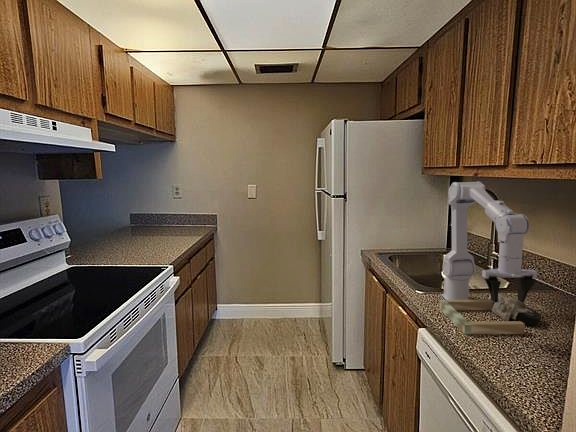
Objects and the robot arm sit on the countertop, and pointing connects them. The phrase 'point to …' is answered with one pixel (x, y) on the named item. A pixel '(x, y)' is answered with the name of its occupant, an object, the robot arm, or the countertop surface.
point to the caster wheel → (515, 311)
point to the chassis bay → (478, 327)
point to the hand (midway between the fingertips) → (507, 301)
